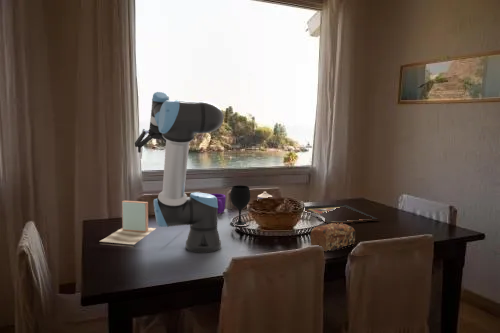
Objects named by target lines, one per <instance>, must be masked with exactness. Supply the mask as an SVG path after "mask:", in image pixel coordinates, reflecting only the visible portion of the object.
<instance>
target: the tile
mask: <svg viewBox="0 0 500 333" xmlns="http://www.w3.org/2000/svg"><path fill="white" fill-rule="evenodd" d="M121 208H122V209H121V212H122V213H121V219H122V220H121V222H122V224H121V225H122V227H121V228H123V230H125V231H138V232H147V231H148V228H149V202H148V201H137V200H122V201H121Z"/></svg>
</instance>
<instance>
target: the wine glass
mask: <svg viewBox="0 0 500 333" xmlns="http://www.w3.org/2000/svg"><path fill="white" fill-rule="evenodd" d="M250 201H251V191H250V186H248V185H241V184H239V185H238V184H237V185H233V186H231V190H230V202H231V203H232V205H233V206H234V207H235V208H236V209H238V220H237V221H238V222H236V223H235V224H237V225H244V224H246V222H247V221H245V222H242V221H243V220H242V218H241V217H242V216H241V215H242V210H243V209H244V208H245V207H247V206H248V205H249V203H250ZM232 222H233V221H231V222H229V226H232V227H234V225H233V223H232Z"/></svg>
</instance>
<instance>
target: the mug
mask: <svg viewBox="0 0 500 333" xmlns="http://www.w3.org/2000/svg"><path fill="white" fill-rule="evenodd" d="M210 194H211V195H214V196H215V197H216V198H217V202H218V214H217V215H219V214H222V213H224V212H225V209H226V198H227V197H226V195H225V194H223V193H210Z"/></svg>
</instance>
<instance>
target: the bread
mask: <svg viewBox="0 0 500 333" xmlns="http://www.w3.org/2000/svg"><path fill="white" fill-rule="evenodd" d="M355 241H356V230H355V229H354V227H353V226H350V225H348V224H343V223H340V224H339V223H337V224H336V223H331V224H323V225H318V226H316V227H314V228H312V229H311V231H310V245H311V246H312V245H319V246H322V247H323V248H324V250H325V252H327V251H326V250H329V251H332V250H331V249H334V248H339V247H343V246H347V245H351V244H355Z"/></svg>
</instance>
